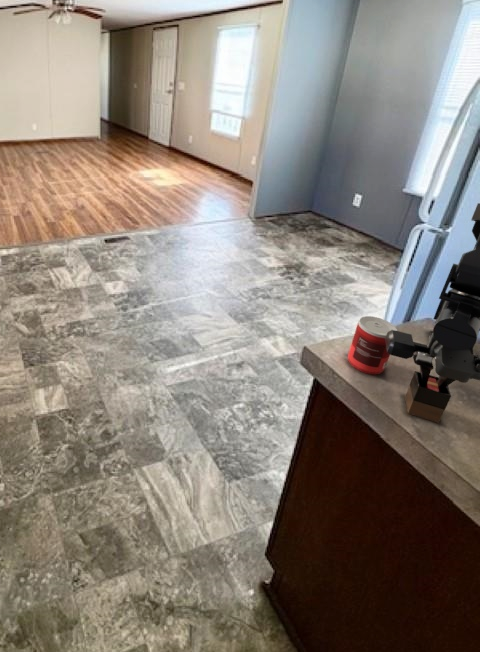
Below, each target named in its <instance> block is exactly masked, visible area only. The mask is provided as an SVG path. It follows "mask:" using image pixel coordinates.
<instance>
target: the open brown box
mask: <svg viewBox="0 0 480 652" xmlns="http://www.w3.org/2000/svg"><path fill="white" fill-rule="evenodd" d="M429 377H430V378H434V379H436V382H437V381H438V378H439V376H435V375H431V374H430V376H429ZM409 385H410V388H411V393H412V397H413V401H417V402H420V403H423V404H427V405H430V406H433V407H437V408H440V409H443V410H444V411H446V408H447V406H448V404H449V402H450V399H451V397H452V394H451V391H450V388H449V385H448V386H447V387H445V388H444V389H443V390H441V391H440V392H439V391H435V390H432V389H428V388H425V387H422V385H421V373H420V372H419V371H416V370H415V371H414V373H413V375H412V377H411V381H410V383H409Z"/></svg>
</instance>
